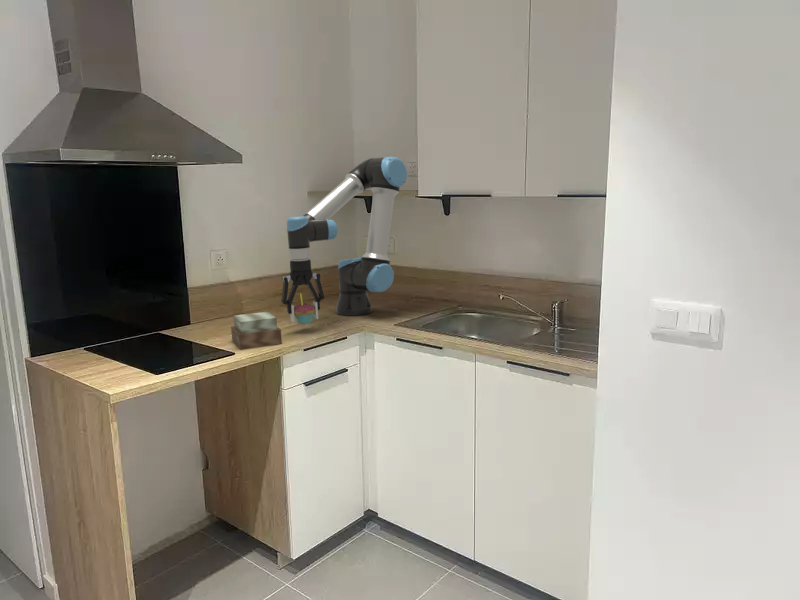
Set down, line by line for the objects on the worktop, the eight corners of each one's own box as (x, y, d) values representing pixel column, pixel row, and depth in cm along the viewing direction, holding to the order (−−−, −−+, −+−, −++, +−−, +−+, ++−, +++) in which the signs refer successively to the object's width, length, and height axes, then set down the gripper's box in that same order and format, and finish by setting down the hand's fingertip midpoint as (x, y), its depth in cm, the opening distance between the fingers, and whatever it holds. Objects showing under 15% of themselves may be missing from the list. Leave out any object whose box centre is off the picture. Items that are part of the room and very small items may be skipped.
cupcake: (311, 325, 209) (309, 292, 206) (289, 325, 210) (286, 292, 208) (319, 319, 217) (317, 288, 214) (298, 319, 218) (295, 288, 216)
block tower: (271, 335, 209) (269, 310, 208) (281, 343, 197) (280, 317, 195) (232, 340, 203) (230, 315, 202) (240, 349, 191) (238, 323, 189)
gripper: (324, 255, 217) (328, 314, 221) (268, 261, 208) (273, 322, 212) (331, 257, 210) (334, 318, 215) (274, 263, 201) (279, 326, 205)
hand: (304, 320), depth 213 cm, fingers closed on cupcake, 8 cm apart
